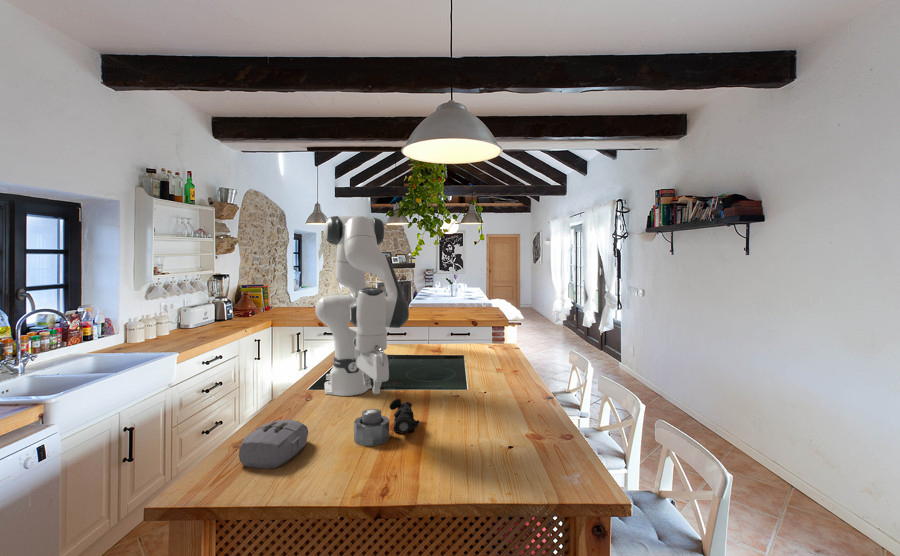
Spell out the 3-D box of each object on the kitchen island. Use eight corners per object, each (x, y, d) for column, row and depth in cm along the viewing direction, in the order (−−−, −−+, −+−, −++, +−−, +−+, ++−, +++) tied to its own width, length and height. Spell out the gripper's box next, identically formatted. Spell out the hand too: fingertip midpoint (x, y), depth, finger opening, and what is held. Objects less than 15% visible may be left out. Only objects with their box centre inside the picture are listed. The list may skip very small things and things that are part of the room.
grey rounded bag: (285, 472, 112) (318, 440, 132) (285, 439, 111) (318, 412, 131) (229, 468, 114) (270, 437, 133) (228, 436, 113) (270, 409, 133)
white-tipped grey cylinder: (359, 425, 133) (359, 410, 133) (377, 422, 136) (377, 407, 136) (365, 432, 128) (365, 415, 128) (383, 428, 131) (383, 412, 131)
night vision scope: (405, 449, 131) (379, 428, 130) (406, 427, 149) (383, 409, 148) (422, 428, 131) (396, 407, 130) (421, 409, 149) (398, 390, 148)
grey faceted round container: (350, 436, 134) (350, 418, 134) (382, 430, 139) (382, 412, 139) (360, 448, 125) (360, 429, 125) (393, 441, 130) (393, 423, 130)
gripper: (394, 348, 123) (394, 397, 124) (371, 336, 141) (371, 379, 142) (372, 350, 120) (372, 401, 121) (351, 338, 138) (351, 382, 139)
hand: (371, 389), depth 132 cm, fingers open, 7 cm apart
